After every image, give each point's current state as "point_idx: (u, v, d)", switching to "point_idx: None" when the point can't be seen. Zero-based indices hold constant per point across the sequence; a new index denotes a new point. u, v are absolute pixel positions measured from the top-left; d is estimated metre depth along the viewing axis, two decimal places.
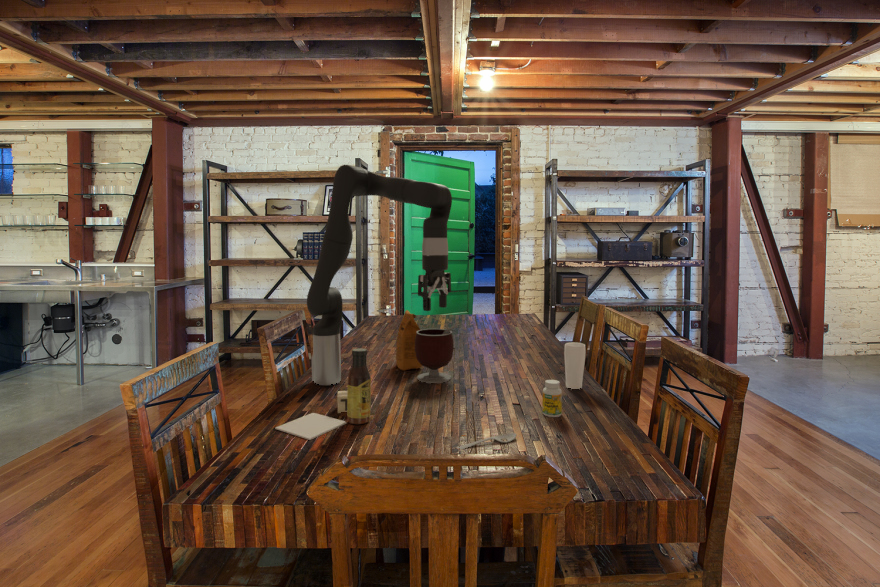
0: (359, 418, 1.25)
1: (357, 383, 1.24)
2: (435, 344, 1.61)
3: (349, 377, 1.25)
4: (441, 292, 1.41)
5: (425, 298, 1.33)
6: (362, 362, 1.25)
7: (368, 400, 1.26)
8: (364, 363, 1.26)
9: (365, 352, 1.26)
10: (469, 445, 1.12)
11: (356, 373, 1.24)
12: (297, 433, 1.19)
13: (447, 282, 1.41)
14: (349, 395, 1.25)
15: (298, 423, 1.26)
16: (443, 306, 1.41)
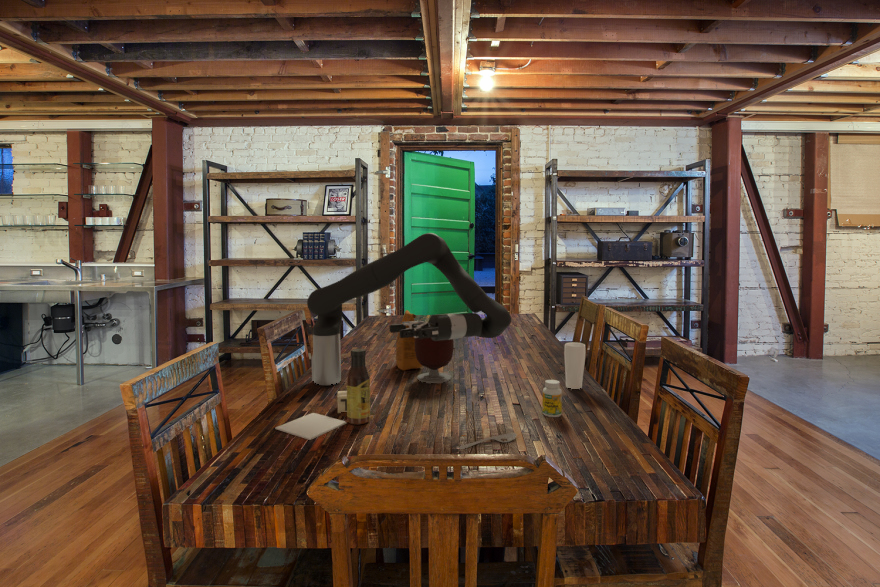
0: (359, 418, 1.25)
1: (356, 383, 1.24)
2: (435, 344, 1.61)
3: (348, 377, 1.25)
4: (404, 326, 1.35)
5: (414, 334, 1.27)
6: (361, 362, 1.25)
7: (368, 400, 1.26)
8: (363, 363, 1.26)
9: (364, 352, 1.26)
10: (469, 445, 1.12)
11: (355, 373, 1.24)
12: (297, 433, 1.19)
13: None
14: (348, 396, 1.25)
15: (298, 423, 1.26)
16: (391, 330, 1.34)
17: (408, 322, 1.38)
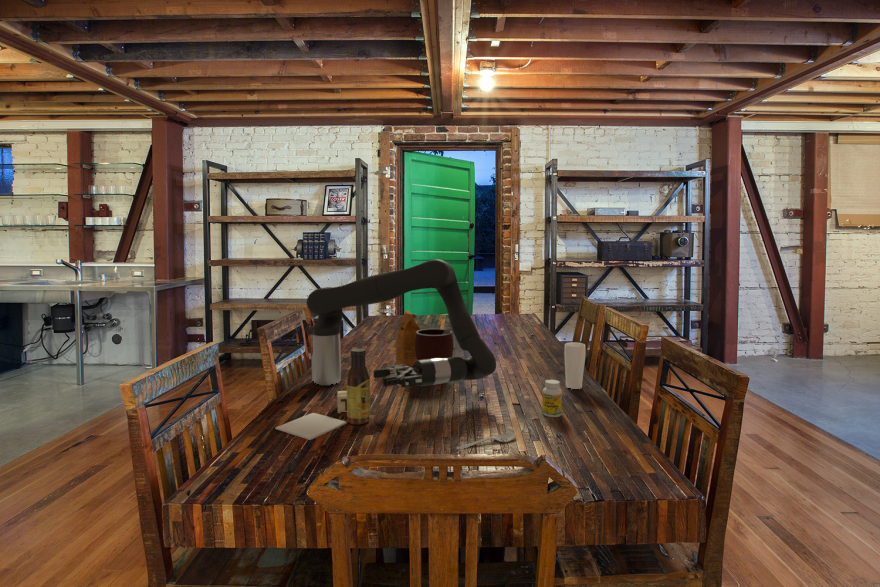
0: (359, 418, 1.25)
1: (356, 383, 1.24)
2: (435, 344, 1.61)
3: (348, 377, 1.25)
4: (388, 371, 1.35)
5: (397, 382, 1.26)
6: (361, 362, 1.25)
7: (368, 400, 1.26)
8: (363, 363, 1.26)
9: (364, 352, 1.26)
10: (469, 445, 1.12)
11: (355, 373, 1.24)
12: (297, 433, 1.19)
13: None
14: (348, 396, 1.25)
15: (298, 423, 1.26)
16: (375, 375, 1.33)
17: (392, 366, 1.37)
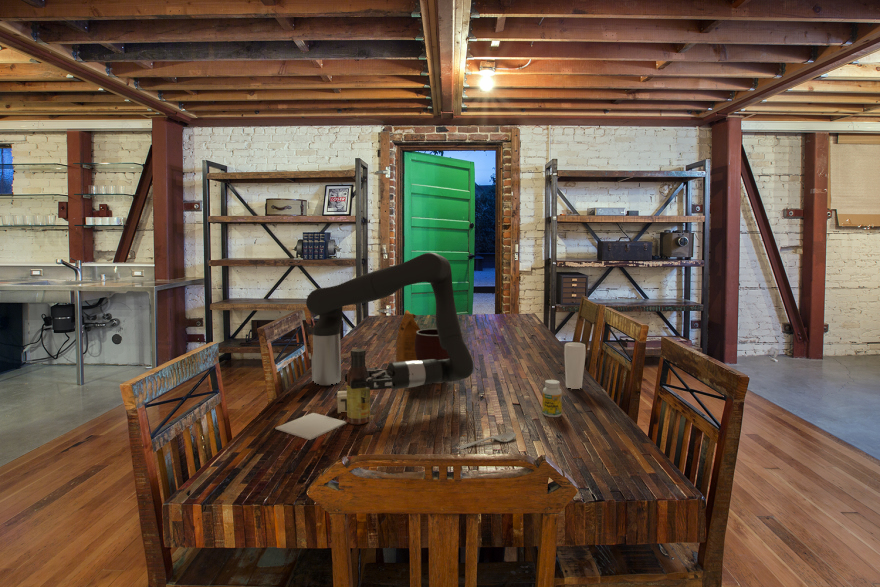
0: (359, 418, 1.25)
1: None
2: (435, 344, 1.61)
3: (348, 377, 1.25)
4: None
5: (364, 385, 1.23)
6: (361, 362, 1.25)
7: (368, 400, 1.26)
8: (363, 363, 1.26)
9: (363, 352, 1.26)
10: (469, 445, 1.12)
11: (355, 373, 1.24)
12: (297, 433, 1.19)
13: (369, 375, 1.34)
14: (348, 396, 1.25)
15: (298, 423, 1.26)
16: (346, 379, 1.29)
17: None
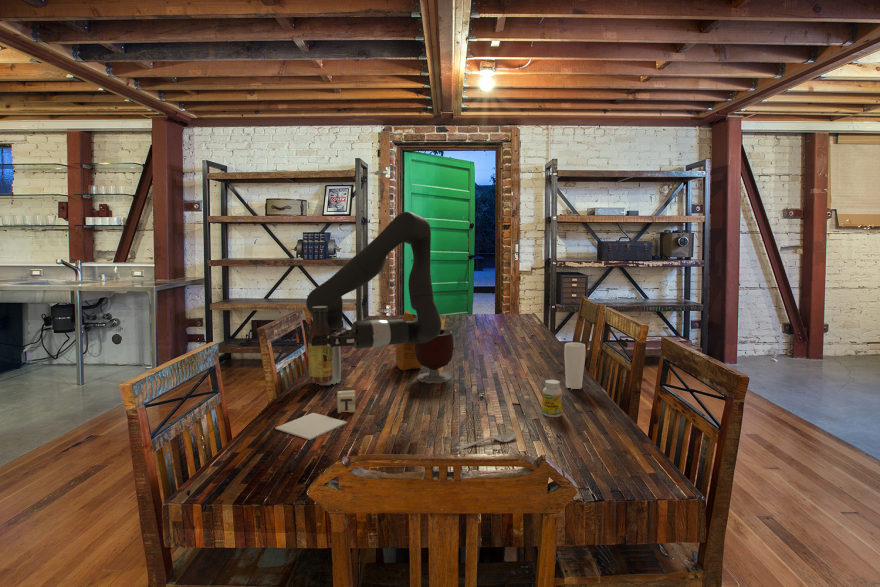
0: (321, 377, 1.21)
1: None
2: (435, 344, 1.61)
3: (309, 335, 1.21)
4: None
5: (326, 342, 1.19)
6: (322, 319, 1.21)
7: (330, 358, 1.22)
8: (324, 320, 1.22)
9: (325, 309, 1.22)
10: (469, 445, 1.12)
11: (316, 330, 1.20)
12: (297, 433, 1.19)
13: None
14: (309, 354, 1.21)
15: (298, 423, 1.26)
16: (308, 338, 1.25)
17: None
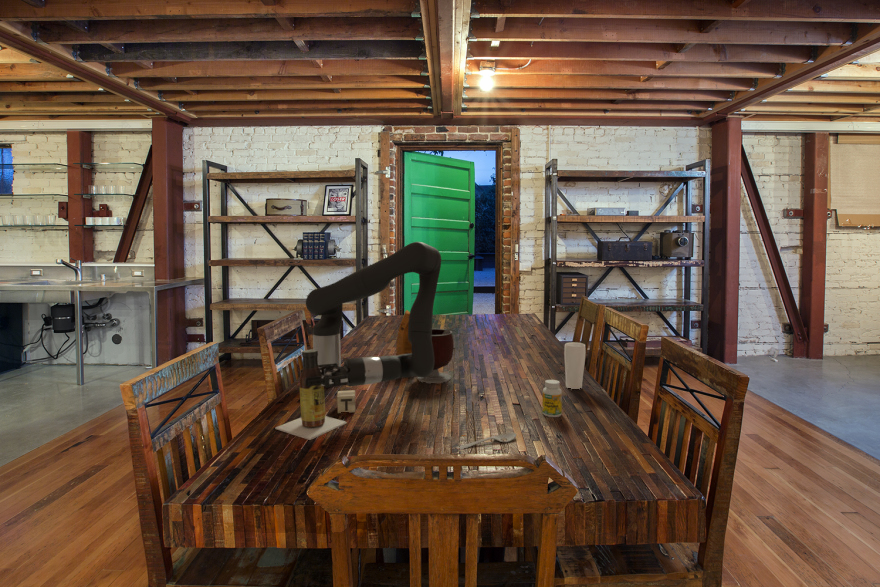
0: (313, 421, 1.22)
1: None
2: (435, 344, 1.61)
3: (300, 379, 1.22)
4: None
5: (320, 382, 1.19)
6: (313, 363, 1.22)
7: (322, 402, 1.23)
8: (315, 364, 1.22)
9: (315, 353, 1.22)
10: (469, 445, 1.12)
11: (306, 374, 1.21)
12: (297, 433, 1.19)
13: None
14: (301, 398, 1.22)
15: (298, 423, 1.26)
16: None
17: (322, 365, 1.30)
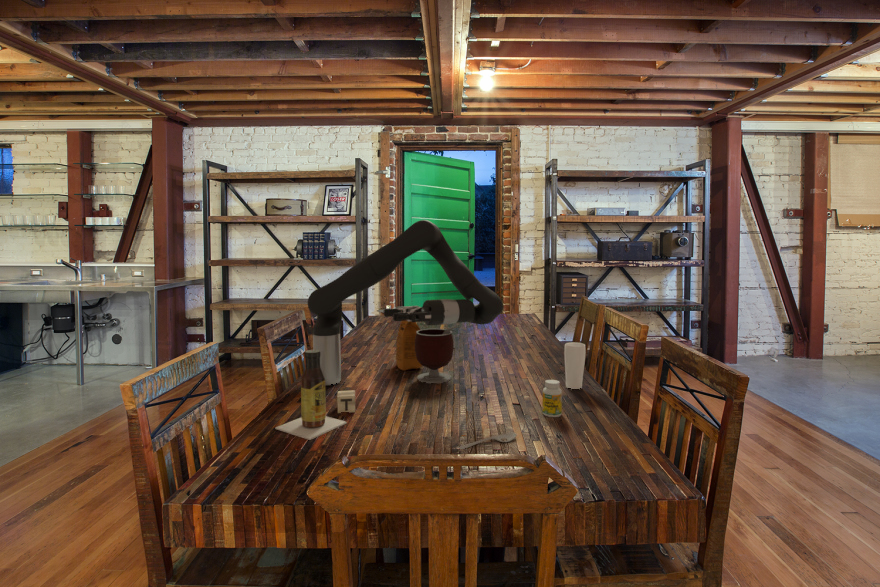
0: (313, 421, 1.22)
1: (310, 386, 1.21)
2: (435, 344, 1.61)
3: (302, 379, 1.22)
4: (398, 310, 1.38)
5: (407, 317, 1.30)
6: (315, 363, 1.22)
7: (323, 402, 1.23)
8: (317, 365, 1.22)
9: (318, 353, 1.22)
10: (469, 445, 1.12)
11: (308, 375, 1.21)
12: (297, 433, 1.19)
13: None
14: (302, 398, 1.22)
15: (298, 423, 1.26)
16: (385, 314, 1.37)
17: (402, 307, 1.41)
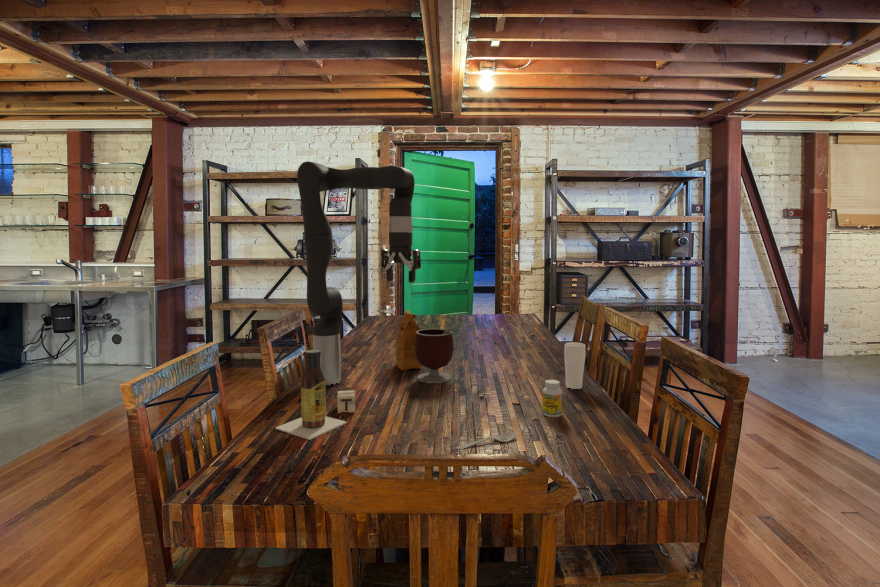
0: (313, 421, 1.22)
1: (310, 386, 1.21)
2: (435, 344, 1.61)
3: (302, 379, 1.22)
4: (389, 267, 1.52)
5: (414, 271, 1.48)
6: (315, 363, 1.22)
7: (323, 402, 1.23)
8: (317, 365, 1.22)
9: (318, 353, 1.22)
10: (469, 445, 1.12)
11: (308, 375, 1.21)
12: (297, 433, 1.19)
13: (387, 258, 1.54)
14: (302, 398, 1.22)
15: (298, 423, 1.26)
16: (392, 280, 1.53)
17: (384, 262, 1.52)
